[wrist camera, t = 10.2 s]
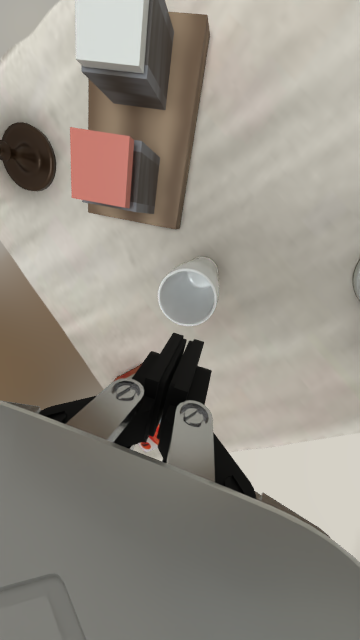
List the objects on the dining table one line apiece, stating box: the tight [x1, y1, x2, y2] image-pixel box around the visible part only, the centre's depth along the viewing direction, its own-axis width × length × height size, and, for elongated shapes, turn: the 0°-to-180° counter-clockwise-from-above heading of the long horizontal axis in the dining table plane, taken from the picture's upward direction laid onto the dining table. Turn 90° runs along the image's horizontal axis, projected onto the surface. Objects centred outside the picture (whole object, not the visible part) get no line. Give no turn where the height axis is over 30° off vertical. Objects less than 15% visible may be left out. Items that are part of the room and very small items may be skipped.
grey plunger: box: [75, 0, 149, 74], centre depth 24 cm, size 6×6×8 cm
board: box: [82, 0, 210, 229], centre depth 29 cm, size 14×22×10 cm, turn 170°
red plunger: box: [70, 127, 134, 208], centre depth 28 cm, size 6×6×8 cm
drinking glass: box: [158, 257, 219, 326], centre depth 32 cm, size 7×7×15 cm
